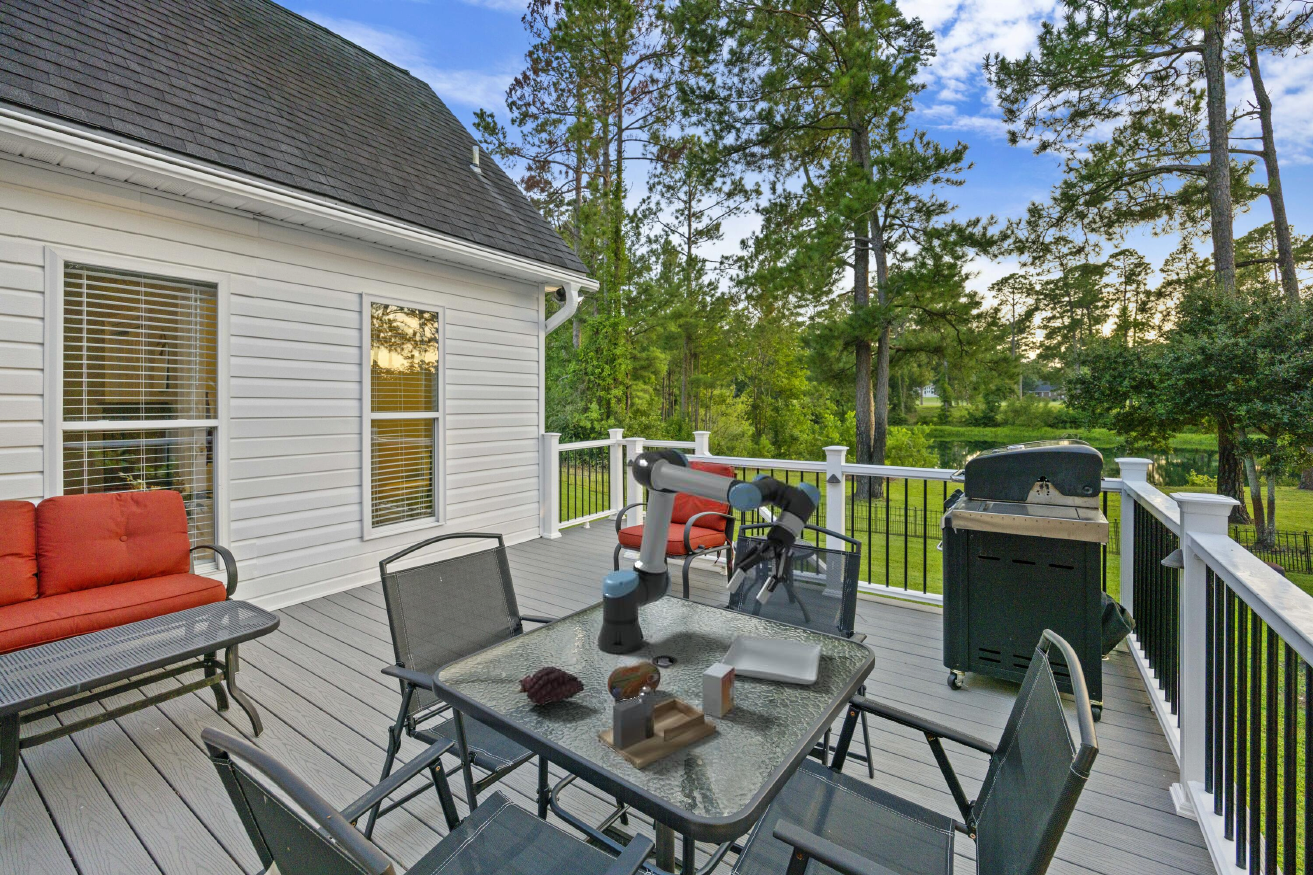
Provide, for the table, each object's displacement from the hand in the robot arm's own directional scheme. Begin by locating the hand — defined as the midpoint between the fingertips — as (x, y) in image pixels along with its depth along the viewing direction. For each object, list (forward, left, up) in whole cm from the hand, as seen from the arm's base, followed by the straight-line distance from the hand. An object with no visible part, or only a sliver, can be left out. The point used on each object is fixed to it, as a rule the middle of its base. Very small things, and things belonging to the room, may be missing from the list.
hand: (744, 595), depth 160 cm
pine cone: (-30, -42, -28) cm, 58 cm away
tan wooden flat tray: (0, -30, -28) cm, 41 cm away
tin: (-20, -22, -28) cm, 41 cm away
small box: (0, -10, -28) cm, 30 cm away
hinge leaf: (0, -37, -26) cm, 45 cm away
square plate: (-8, +22, -28) cm, 37 cm away
